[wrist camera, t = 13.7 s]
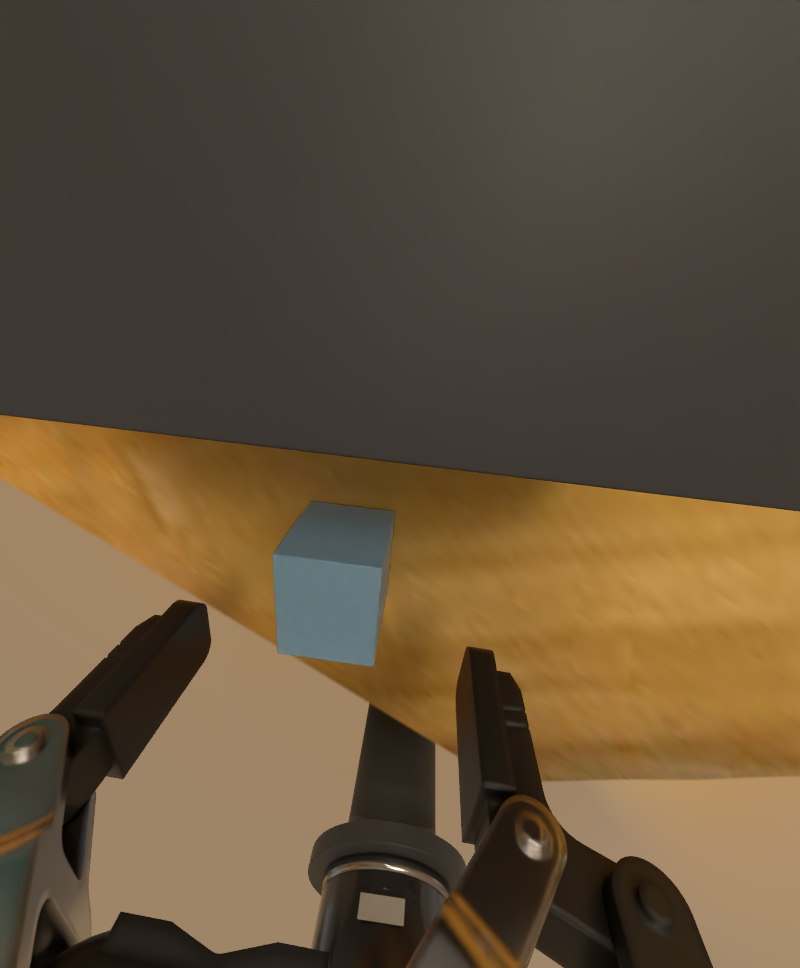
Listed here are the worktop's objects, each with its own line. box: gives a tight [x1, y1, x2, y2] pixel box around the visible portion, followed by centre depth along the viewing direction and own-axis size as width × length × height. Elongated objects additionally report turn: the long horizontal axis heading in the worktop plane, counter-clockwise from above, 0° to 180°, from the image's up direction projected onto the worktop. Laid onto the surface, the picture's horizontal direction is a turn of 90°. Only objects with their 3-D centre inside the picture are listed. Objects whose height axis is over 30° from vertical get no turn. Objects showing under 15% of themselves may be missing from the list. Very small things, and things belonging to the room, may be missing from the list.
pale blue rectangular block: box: [273, 501, 395, 667], centre depth 15 cm, size 4×4×4 cm
